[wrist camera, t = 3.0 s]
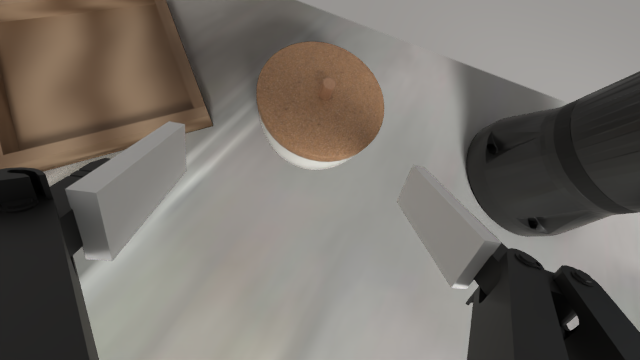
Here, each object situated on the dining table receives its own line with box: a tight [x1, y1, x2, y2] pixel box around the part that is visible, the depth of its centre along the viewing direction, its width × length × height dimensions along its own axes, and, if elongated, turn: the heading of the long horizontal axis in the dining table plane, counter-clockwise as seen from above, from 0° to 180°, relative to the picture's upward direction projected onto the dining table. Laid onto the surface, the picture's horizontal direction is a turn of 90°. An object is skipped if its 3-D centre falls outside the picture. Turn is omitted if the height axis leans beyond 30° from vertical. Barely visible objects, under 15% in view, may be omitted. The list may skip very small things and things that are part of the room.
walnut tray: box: [0, 0, 213, 172], centre depth 23 cm, size 16×16×2 cm
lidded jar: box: [257, 42, 384, 170], centre depth 23 cm, size 11×11×9 cm
